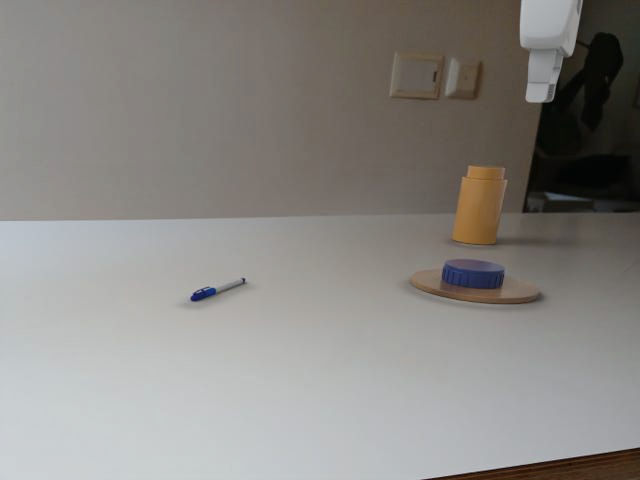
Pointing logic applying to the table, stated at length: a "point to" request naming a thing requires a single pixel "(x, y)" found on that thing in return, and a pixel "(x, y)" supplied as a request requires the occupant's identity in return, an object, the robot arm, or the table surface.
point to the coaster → (505, 294)
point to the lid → (473, 273)
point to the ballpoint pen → (215, 289)
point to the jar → (480, 205)
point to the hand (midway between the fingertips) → (539, 102)
